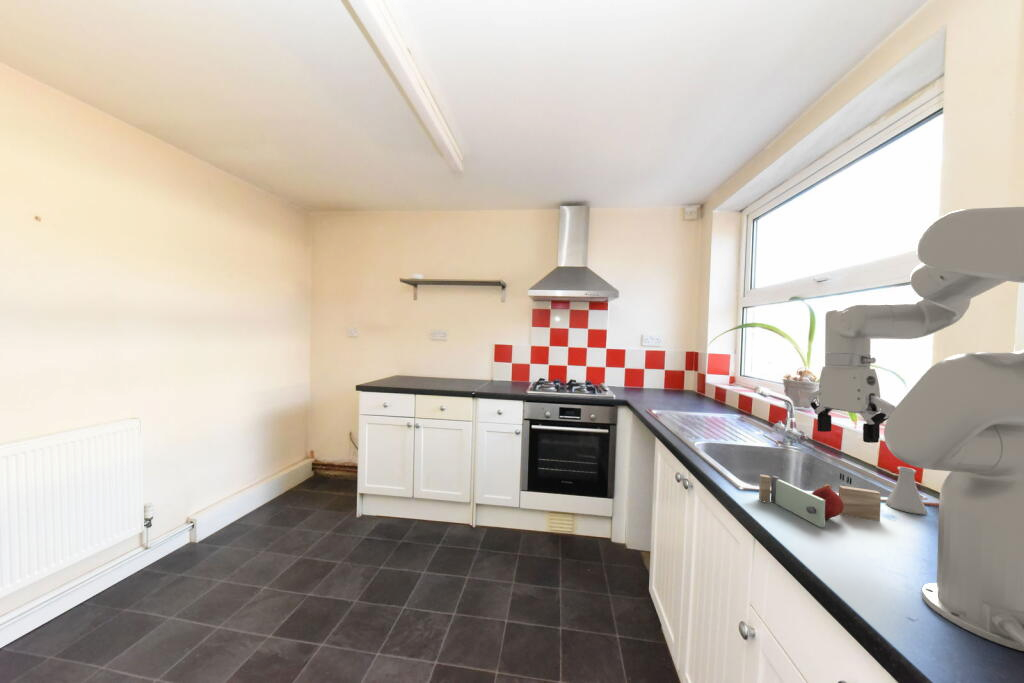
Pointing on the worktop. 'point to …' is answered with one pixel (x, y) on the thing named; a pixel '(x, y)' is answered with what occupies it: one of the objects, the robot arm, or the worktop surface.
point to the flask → (906, 493)
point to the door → (798, 501)
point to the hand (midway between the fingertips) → (846, 436)
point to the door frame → (853, 499)
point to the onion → (830, 501)
